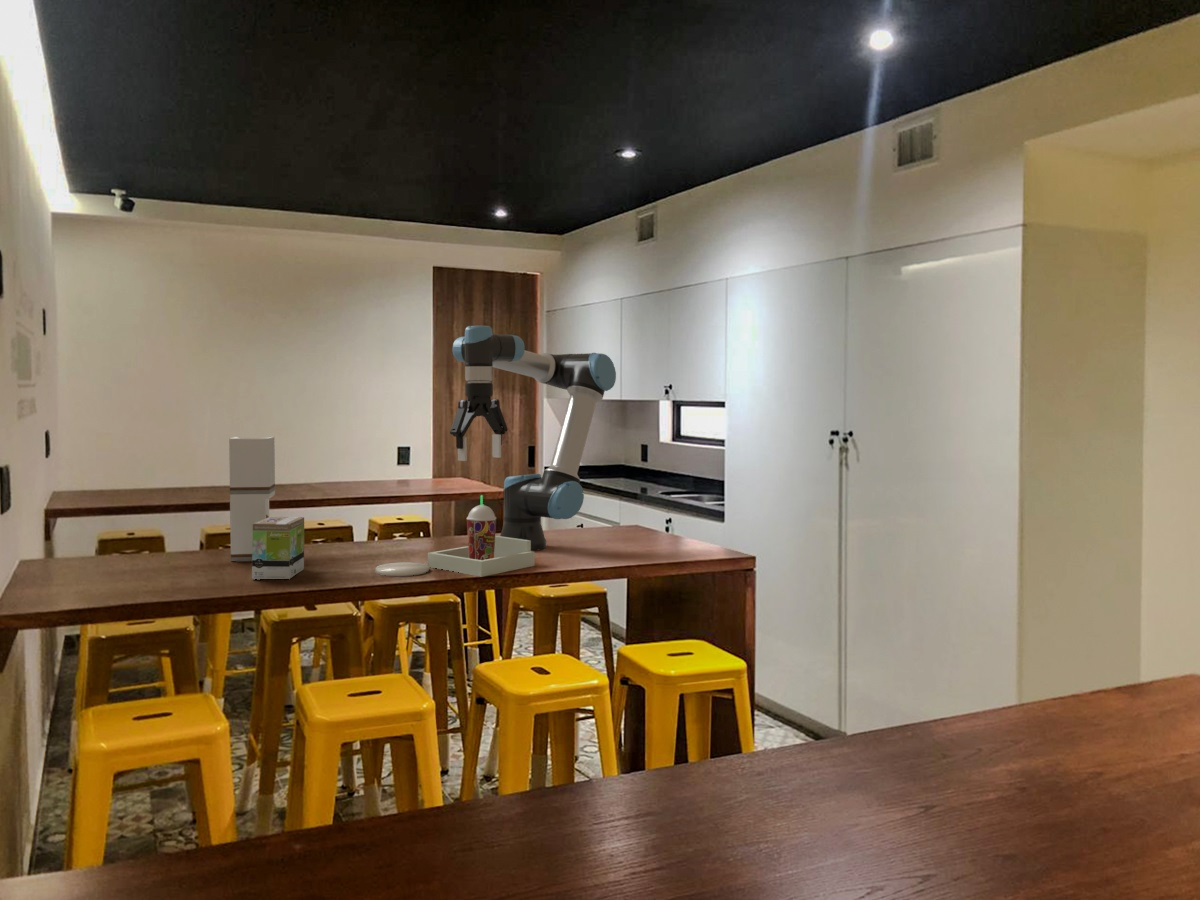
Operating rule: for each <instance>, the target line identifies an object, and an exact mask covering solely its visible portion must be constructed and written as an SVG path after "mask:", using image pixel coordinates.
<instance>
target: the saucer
mask: <svg viewBox="0 0 1200 900" xmlns="http://www.w3.org/2000/svg"><path fill="white" fill-rule="evenodd" d="M429 571H430V570H429V566H428V564H426V563H423V562H410V561H409V562H407V561H405V562H403V561H402V562H390V563H383V564H380V565H378V566H375V574H377V575H379V576H384V575H386V576H387V577H411V576H413V575H414V576H419V575H424V574H427V573H428V572H429ZM426 572H427V573H426ZM386 576H385V577H386Z"/></svg>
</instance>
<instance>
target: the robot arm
mask: <svg viewBox="0 0 1200 900" xmlns="http://www.w3.org/2000/svg"><path fill="white" fill-rule="evenodd" d="M451 349H452V354H453V357H454V359H455V360H456V361H458V362H461V363H464V373H465V374H464V376H465V377H464V378H465V379H464V380H465V381H466V383H465V384H464V385H465V386H464V387H465V388H464V389H465V390H464V391H465V393H464V394H465V396H466V397H467V398H466V399H464V400H463V399H459V400H458V403H457V404H458V405H457V409H456V413H455V416H454V418H453V422H452V424H451V427H450V430H449V434H450V435H452V436H453V437H455V442H456V443H455V444H456V445H455V446H456V449H457V462H458V461H459V462H467V461H468V456H467V455H468V453H467V452H468V449H467V447H468V446H467V444H468V442H467V436H465V435H466V433H467V432H468V430H469V428H470V426H471V424H472V423H473V421H474V419H476V418H477V417H483V418H484V419H485V420H486V422H487V424H489V426H490V428H491V430H492V431H493V434H491V436H492V437H491V438H492V439H491V441H492V443H491V444H492V445H491V450H492V451H491V453H492V458H496V459H498V458H500V459H501V458H502V445H503V435H505V434H506V433H507V432H508V430H509V429H508V426H507V424H506V421H505V418H504V415H503V412H502V410H501V407H500V406H501V404H500V399H496V398H495V399H491V397H493V395H494V394H493V393H494V388H493V387H494V384H493V383H492V381H494V376H493V375H494V374H493V373H494V372H493V371H494V370H493V368H494V369H499V370H503V371H507V372H511V373H514V374H519V375H522V376H526V377H529V378H533V379H534V380H535V381H536V382H538V383H540V384H544V385H547V386H551V387H555V388H558V389H563V390H567V392H568V394H569V399H568V402H567V406H566V409H565V413H564V417H563V420H562V424H561V426H560V427H561V428H560V430H559V435H558V438H557V442H556V444H555V445H556V446H555V448H554V452H553V454H552V459H551V462H550V466H549V467H547V468H546V469H544V470H543V472H542V475H541V474H540V473H532V474H531V473H530V474H524V475H523V474H521V475H511V476H510V475H509V476H507V477H505V479H504V481H503V525H502V529H501V532H500V535H499V536H502V537H509V538H516V539H523V540H531V551H534V552H535V551H542V550H544V549H546V548H547V539H546V538H545V533H544V530H543V527H542V526H543V525H542V518H547V519H548V518H549V519H555V520H568V519H572V518H573V517H575V516H576V515H577V514H578V513H579V511H581V508H582V506H583V503H584V498H585V497H584V496H585V495H584V489H583V487H582V485H581V479H580V477H579V475H578V472H579V469H580V464H581V461H582V458H583V454H584V450H585V447H586V443H587V439H588V435H589V432H590V427H591V424H592V421H593V417H594V414H595V410H596V406H597V404H598V403H599V402H601V401H602V400H603V399H604V395H605V392H608V391H610V390H612V389H613V387H614V386H615V384H616V380H617V371H616V367H615V364H614V362H613V360H612V359H611V358H610V356H609V355H607V354H605V353H599V352H598V353H596V352H591V353H590V352H589V353H565V354H561V353H559V354H552V353H547V352H542V353H540V354H539V353H537V352H533V351H530V350H525V349H526V348H525V342H524V340H523V339H522V338H521V337H520V336H518V335H515V334H514V335H513V334H497V333H494V332H493V329H492V327H491V326H490V325H468V326H466V327H465V330H464V336H460V337H458V338H456V339H455V340H454V342H453V344H452V348H451Z"/></svg>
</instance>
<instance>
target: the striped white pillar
mask: <svg viewBox="0 0 1200 900" xmlns="http://www.w3.org/2000/svg"><path fill="white" fill-rule="evenodd" d="M228 444H229V445H228V446H229V447H228V448H229V449H228V451H229V454H228V455H229V460H228V461H229V520H230V521H229V522H230V525H229V526H230V530H229V531H230V535H229V536H230V562H231V561H236V562H252V539H253V523H256V522H258V521H261V520H263V519H265V518H268V517H270V499H271V498H272V497H275V495H276V470H275V469H276V467H275V466H276V463H275V459H276V457H275V454H276V453H275V436H270V437H259V438H254V437H253V438H252V437H251V438H250V437H248V438H246V437H245V438H244V437H243V438H242V437H241V438H240V436H234V437H230V438H228Z"/></svg>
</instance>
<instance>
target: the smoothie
mask: <svg viewBox="0 0 1200 900" xmlns="http://www.w3.org/2000/svg"><path fill="white" fill-rule="evenodd" d="M483 499H484V495H483V494H481V495H480V504H479V505H476V506H474V507H473V508H471V510H470V511H469V513H468V516H467V517H466V528H467V529H466V530H467V545H468V548H469V558H470V559H477V560H486V559H491V558H494V548H495V536H496V530H497V529H496V527H497V516H496V514H495V512H494V511H493V509H492V508H491V507H490V506H487V505H485V504H483V503H484V502H483V501H484V500H483Z"/></svg>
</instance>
